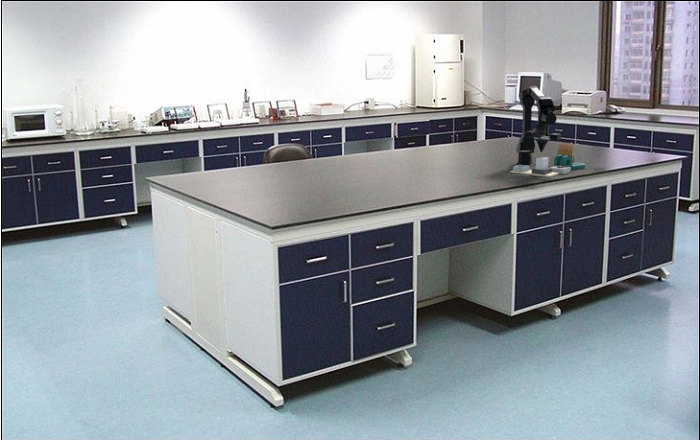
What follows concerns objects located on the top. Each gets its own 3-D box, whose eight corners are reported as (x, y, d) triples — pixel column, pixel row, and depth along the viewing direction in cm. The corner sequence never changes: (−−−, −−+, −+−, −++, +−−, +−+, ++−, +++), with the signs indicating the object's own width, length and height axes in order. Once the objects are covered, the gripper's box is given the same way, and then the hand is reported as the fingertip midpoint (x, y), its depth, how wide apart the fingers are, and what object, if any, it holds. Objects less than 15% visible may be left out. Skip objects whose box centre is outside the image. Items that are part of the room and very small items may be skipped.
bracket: (562, 171, 377) (563, 156, 375) (553, 169, 383) (554, 154, 381) (587, 168, 385) (588, 153, 384) (578, 166, 391) (579, 152, 389)
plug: (535, 172, 368) (536, 158, 366) (541, 170, 373) (541, 156, 371) (542, 172, 365) (543, 159, 363) (548, 170, 370) (549, 157, 368)
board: (510, 172, 374) (510, 171, 374) (519, 169, 382) (519, 168, 382) (550, 177, 361) (550, 175, 361) (558, 174, 368) (558, 172, 368)
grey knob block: (549, 172, 373) (549, 166, 373) (555, 170, 379) (556, 164, 379) (564, 174, 369) (564, 168, 368) (570, 171, 374) (570, 166, 374)
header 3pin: (512, 170, 375) (513, 166, 375) (519, 168, 380) (519, 164, 380) (523, 172, 371) (523, 167, 371) (529, 170, 377) (529, 165, 376)
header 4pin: (531, 173, 368) (531, 169, 367) (539, 170, 374) (539, 166, 374) (544, 174, 363) (544, 170, 363) (551, 172, 370) (552, 168, 369)
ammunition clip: (573, 164, 396) (575, 143, 393) (571, 165, 395) (572, 143, 392) (558, 162, 405) (559, 141, 402) (556, 162, 404) (557, 141, 401)
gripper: (519, 122, 371) (517, 152, 375) (553, 125, 360) (551, 156, 364) (529, 119, 379) (527, 149, 384) (562, 122, 368) (560, 153, 372)
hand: (541, 151), depth 376 cm, fingers closed
